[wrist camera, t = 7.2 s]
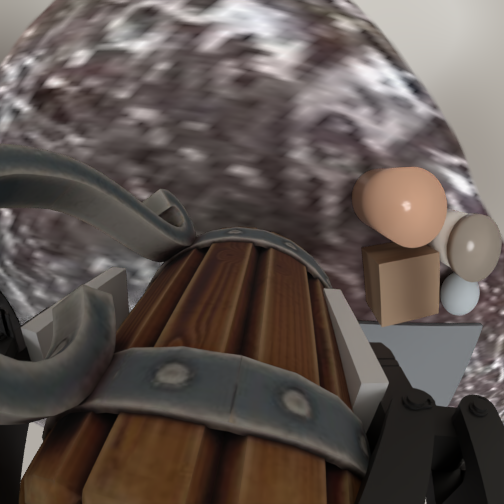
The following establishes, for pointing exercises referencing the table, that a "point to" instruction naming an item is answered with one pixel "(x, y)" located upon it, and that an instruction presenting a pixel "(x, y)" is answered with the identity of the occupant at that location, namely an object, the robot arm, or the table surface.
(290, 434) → the mug
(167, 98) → the table surface
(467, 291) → the grey ball
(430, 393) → the slate pad
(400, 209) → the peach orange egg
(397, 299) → the walnut block
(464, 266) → the jar
